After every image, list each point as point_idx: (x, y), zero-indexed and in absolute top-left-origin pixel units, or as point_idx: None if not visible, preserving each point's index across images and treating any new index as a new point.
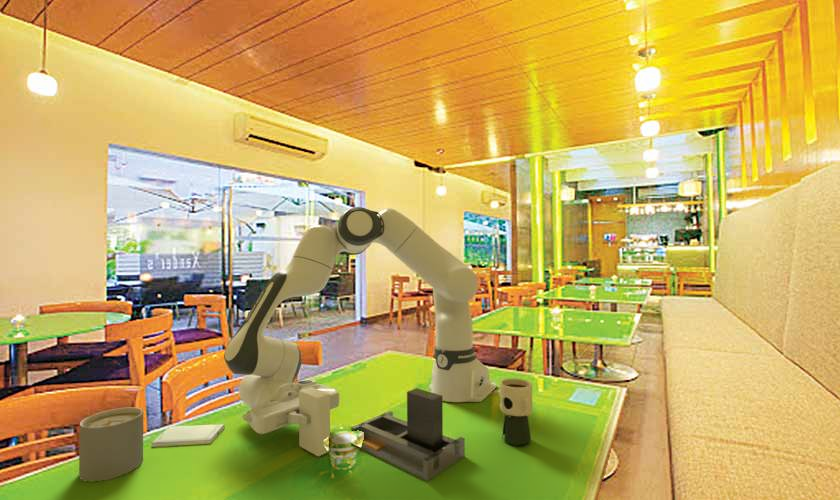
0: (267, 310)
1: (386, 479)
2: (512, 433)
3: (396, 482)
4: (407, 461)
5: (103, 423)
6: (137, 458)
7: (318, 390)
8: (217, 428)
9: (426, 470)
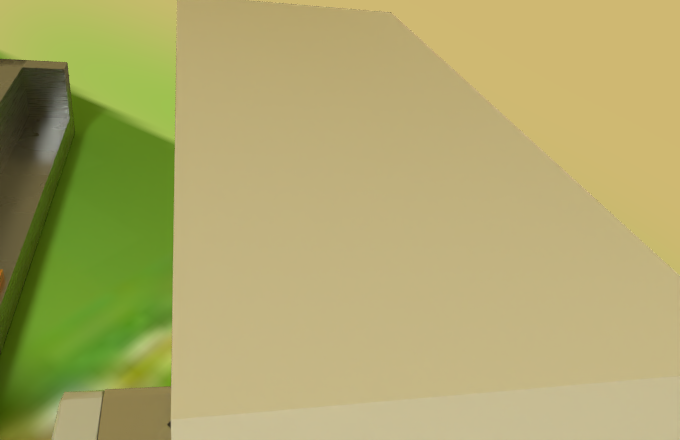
0: None
1: (159, 194)
2: None
3: (149, 172)
4: (23, 165)
5: None
6: None
7: (208, 103)
8: None
9: (69, 98)
